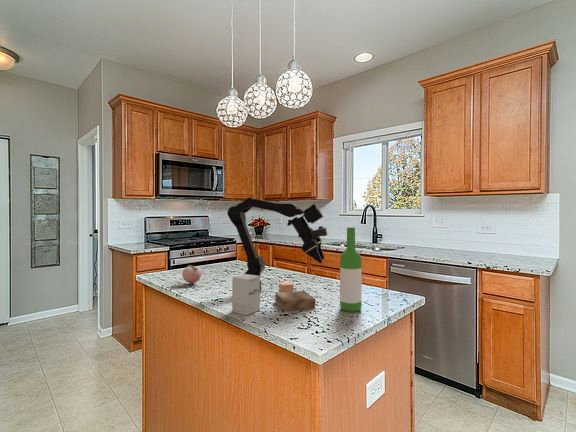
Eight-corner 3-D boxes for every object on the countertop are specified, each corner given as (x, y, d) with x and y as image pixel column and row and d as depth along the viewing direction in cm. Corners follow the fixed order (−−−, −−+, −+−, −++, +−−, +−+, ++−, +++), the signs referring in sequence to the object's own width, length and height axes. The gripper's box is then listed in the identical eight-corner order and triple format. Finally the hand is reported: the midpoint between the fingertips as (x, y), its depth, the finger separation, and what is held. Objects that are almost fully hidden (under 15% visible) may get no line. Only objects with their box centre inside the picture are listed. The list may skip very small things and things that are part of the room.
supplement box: (247, 315, 110) (247, 279, 110) (231, 312, 114) (231, 276, 114) (260, 310, 116) (260, 275, 116) (244, 306, 120) (244, 273, 120)
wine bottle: (365, 309, 118) (365, 227, 117) (354, 314, 112) (354, 228, 111) (347, 304, 123) (347, 226, 122) (335, 309, 117) (336, 227, 116)
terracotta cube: (282, 296, 134) (282, 285, 134) (279, 293, 139) (279, 282, 139) (293, 296, 136) (293, 284, 136) (290, 293, 140) (290, 281, 140)
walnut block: (284, 312, 115) (284, 301, 115) (275, 302, 127) (275, 292, 127) (315, 309, 119) (315, 298, 119) (304, 300, 130) (304, 290, 130)
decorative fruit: (178, 284, 155) (178, 264, 155) (191, 281, 162) (191, 262, 162) (191, 287, 150) (191, 266, 150) (204, 284, 157) (204, 263, 157)
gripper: (316, 220, 126) (337, 254, 125) (321, 218, 144) (340, 248, 143) (292, 235, 128) (313, 268, 127) (301, 231, 147) (319, 260, 145)
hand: (322, 260), depth 135 cm, fingers open, 9 cm apart
